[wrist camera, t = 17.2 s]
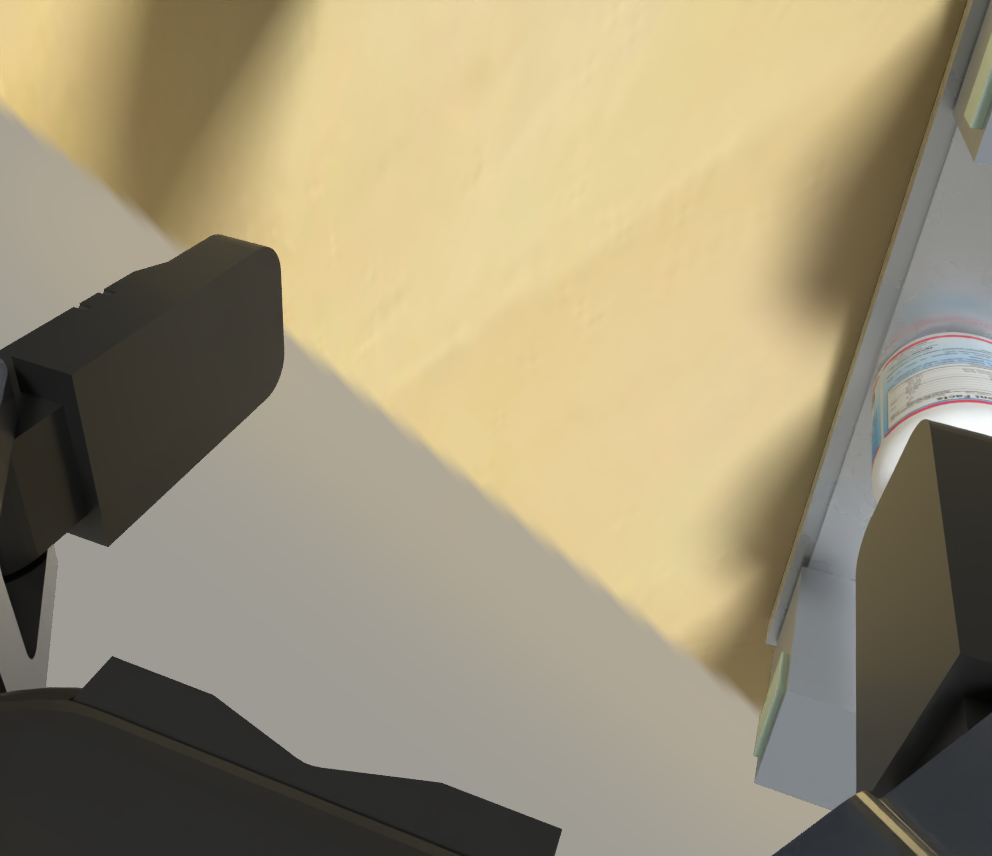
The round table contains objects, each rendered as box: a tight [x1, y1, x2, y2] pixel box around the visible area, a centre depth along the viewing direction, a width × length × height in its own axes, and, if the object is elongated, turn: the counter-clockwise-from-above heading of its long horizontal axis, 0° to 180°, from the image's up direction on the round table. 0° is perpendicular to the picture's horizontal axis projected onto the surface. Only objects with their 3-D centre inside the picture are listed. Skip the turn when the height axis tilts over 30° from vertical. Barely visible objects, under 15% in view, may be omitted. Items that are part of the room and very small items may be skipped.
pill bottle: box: [872, 332, 992, 504], centre depth 33 cm, size 6×6×11 cm
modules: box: [754, 0, 992, 810], centre depth 34 cm, size 7×34×9 cm, turn 176°
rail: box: [765, 0, 992, 647], centre depth 38 cm, size 8×34×2 cm, turn 175°
